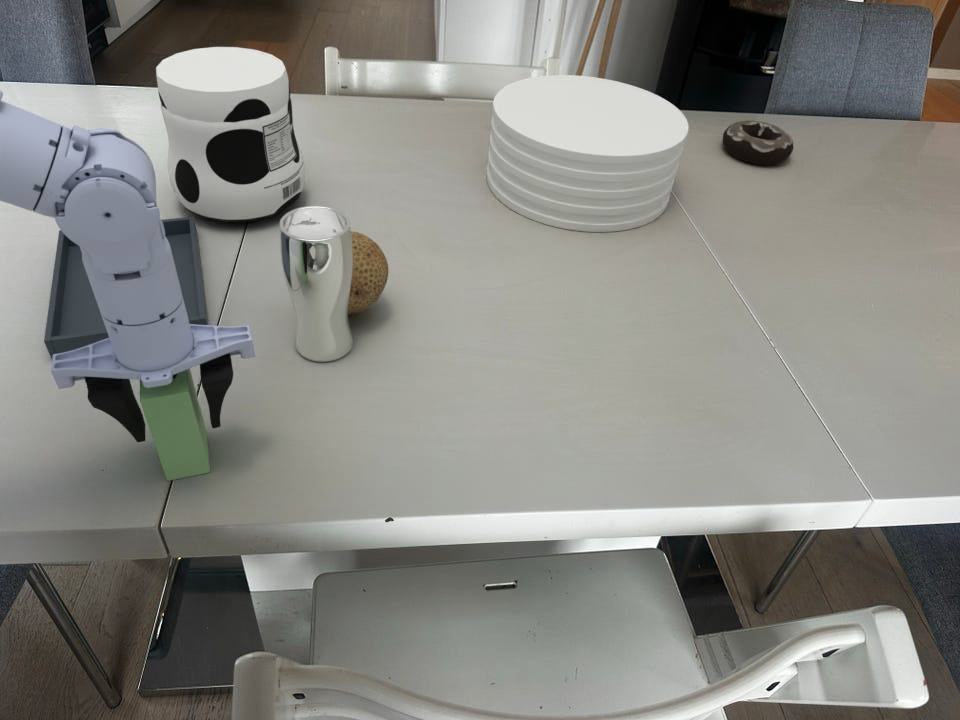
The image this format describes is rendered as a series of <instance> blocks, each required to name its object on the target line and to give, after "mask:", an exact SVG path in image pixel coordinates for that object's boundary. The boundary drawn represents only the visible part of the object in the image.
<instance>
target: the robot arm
mask: <svg viewBox="0 0 960 720" xmlns="http://www.w3.org/2000/svg"><path fill="white" fill-rule="evenodd" d="M3 96H4V92H3V91H2V90H0V202H3V203H6V204H8V205H12V206H15V207H18V208H21V209H24V210H27V211H30V212H33V213H36V214H37V215H38V214H39V215H42V216H43V217H44V216H45V217H48V218H53V219H54V221H55V223H56V225H57V227H58V228H59V230H61V231H62V232H63V233H64V234H65V235H66V236H67V237H68V238H69V239H70V240H71V241H73V242H74V243H76V244H77V245H79V246H80V249H81V252H82V261H83V264H84V267H85V270H86V273H87V276H88V278H89V281H90V284H91V287H92V290H93V293H94V296H95V298H96V301H97V304H98V307H99V310H100V313H101V316H102V319H103V321H104V324H105V327H106V330H107V333H108V336H109V338H107V339H104V340H101V341H99V342H96V343H93V344H90V345H87V346H84V347H82V348H78V349H75V350H72V351H68V352H64V353H58V354H53V358H52V359H51V368H50V372H51V374H52V377H53V379H54V381H55V383H56V385H57V388H58V389H60V390H61V389H68V388H72V387H74V385H75V384H76V381H83V380H84V381H85V384H86V388H87V400H88V402H89V404H90V405H91V406H92V408H94V409H97V410H99V411H101V412H103V413H105V414H107V415H109V416H110V417H112V418H113V419H114V420H115V421H116V422H118V423H119V424H120V425H121V426H123V428H124V429H126V430H127V432H128V433H129V434H130V435H131V436H132V437H133V439H134V441H136V443H143V442H146V422H145V419H144V413H143V411H142V410H141V407H140V405H139V402H138V401H137V398H136V395H135V393H134V390H133V387H132V382H131V380H137V381H138V380H139V381H140V380H142V383H143V386H144V387H146V388H152V387H158V386H164V385H168V384H170V383H171V382H172V380H173V375H174V374H177V373H179V372H182V371H184V370H187V369H189V368H190V369H192V368H195V367H197V366H199V373H200V383H201V387H202V389H203V392H204V395H205V398H206V402H207V405H208V412H209V420H210V425H211V428H212V429H217V428H220V427H221V426H222V424H221V415H222V414H221V413H222V409H223V408H222V407H223V403H224V399H225V397H226V394H227V392H228V390H229V389H230V387H231V385H232V384H233V380H234V368H233V362H232V356H233V357H234V356H238V355H239V356H240V358H241V359H242V360H243V359H245V360H246V359H252V358H255V357H256V353H255V348H254V343H253V335H252V331H251V327H250V325H249V324H246V325H235V326H227V325H225V326H224V325H209V324H208V325H195V324H189V320H188V316H187V312H186V308H185V304H184V300H183V296H182V291H181V287H180V283H179V279H178V275H177V271H176V267H175V263H174V259H173V255H172V251H171V247H170V244H169V242H168V240H167V238H166V237H165V229H164V225H163V222H162V221H161V220H162V219H161V212H160V209H159V207H158V199H157V197H158V196H157V177H156V172H155V171H156V170H155V169H154V165H153V161H152V159H151V157H150V156H149V154H148V153H147V151H145V149H144V148H143V147H142V146H140V144H138V143H137V142H136V141H134V140H132V139H131V138H129V137H127V136H125V135H124V134H123V133H122V132H120V131H119V130H117V129H113V128H105V127H104V128H90V129H86V128H84V127H81V126H79V125H76V124H74V125H73V126H72V129H71V128H69V127H68V126H65V125H61V124H60V123H57V122H55V121H52V120H50V119H47V118H45V117H42V116H40V115H38V114H36V113H32V112H31V111H28V110H25V109H23V108H20V107H18V106H16V105H13V104H11V103H8V102H6V101H4V100H3Z"/></svg>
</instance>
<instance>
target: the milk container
mask: <svg viewBox="0 0 960 720" xmlns="http://www.w3.org/2000/svg"><path fill="white" fill-rule="evenodd" d="M155 73H156V75H155V76H156V83H157V84H156V85H157V91H158V92H157V93H158V97H159V101H160V110H161V113H162V117H163V121H164V125H165V128H166V133H167V139H168V140H167V141H168V150H167V152H168V153H167V173H168V178H169V182H170V185H171V187H172V190H173V191H174V193H175V196H176V198H177V200H178V201H179V203H181V204H182V206H184V208H185V209H187V210H188V211H189V212H191V213H193V214H195V215H197V216H200V217H201V218H205V219H208V220H211V221H218V222H219V221H220V222H224V223H250V222H256V221H258V220H264V219H268V218H269V219H270V218H272V217H274V216H276V215H278V214H281V213H283V212H285V211H286V210H288V209H289V208H290V207H292V206H293V205H294V204H295V203H296V202H297V201H299V198H300V197H301V195H302V193H303V190H304V184H305V177H306V175H305V174H306V167H305V161H304V156H303V153H302V150H301V147H300V145H299V142H298V139H297V137H296V135H295V129H294V119H293V118H294V117H293V104H292V103H293V102H292V99H291V85H290V81H289V75H288V72H287V68H286V66H285V64H284V62H283V61H282V60H281V59H280V58H278V57H276V56H274V55H273V54H271V53H269V52H264V51H261V50H258V49H253V48H245V47H238V46H210V47H202V48H192V49H188V50H184V51H180V52H177V53H173V55H170V56H168V57H166V58H164V59H162V60H161V61H160V62H159V63H158V65H157V66H156V67H155Z"/></svg>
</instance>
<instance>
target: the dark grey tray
mask: <svg viewBox="0 0 960 720" xmlns="http://www.w3.org/2000/svg"><path fill="white" fill-rule="evenodd" d="M161 221H162V222H163V225H164V229H165V237H166V238H167V240H168V242H169V244H170V247H171V251H172V255H173V259H174V263H175V267H176V271H177V275H178V279H179V283H180V287H181V291H182V296H183V300H184V304H185V308H186V312H187V316H188V320H189V324H195V325H209V318H208V317H209V316H208V310H207V301H206V292H205V284H204V276H203V275H204V274H203V268H202V260H201V252H200V251H201V250H200V242H199V235H198V229H197V224H196V220H195V217H194V216H184V217H175V218H165V219H161ZM53 265H54V266H53V272H52V279H51V280H52V281H51V287H50V295H49V301H48V310H47V316H46V324H45V331H44V339H43V342H44V345H45V347H46V350H47V352H48V354H49V356H50V359H51V360H52V358H53V354H58V353H64V352H68V351H72V350H75V349H78V348H82V347H84V346H87V345H90V344H93V343H96V342H99V341H101V340H104V339H107V338H109V336H108V333H107V330H106V327H105V324H104V321H103V319H102V316H101V313H100V310H99V307H98V304H97V301H96V298H95V296H94V293H93V290H92V287H91V284H90V281H89V278H88V276H87V273H86V270H85V267H84V264H83V261H82V252H81V249H80V246H79V245H77V244H76V243H74V242H73V241H71V240H70V239H69V238H68V237H67V236H66V235H65V234H64V233H63V232H62V231H61V230H60V229H59V230H58V236H57V244H56V251H55V257H54V264H53Z"/></svg>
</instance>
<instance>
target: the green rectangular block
mask: <svg viewBox="0 0 960 720" xmlns="http://www.w3.org/2000/svg"><path fill="white" fill-rule="evenodd" d="M139 401H140V405H141V408H142V412H143V415H144V417H145V420H146V422H147V426H148V428H149V432H150V435H151V438H152V440H153V443H154V446H155V450H156V452H157V455H158V457H159V461H160V464H161V466H162V470H163V472H164V476H165V479H166V482H169V481H170V482H171V481H175V480H179V479H185V478H189V477H194V476H199V475H204V474H208V473H211V463H210V453H209V446H208V445H209V444H208V434H207V428H206V424H205V421H204V420H205V419H204V416H203V413H202V409H201V405H200V401H199V398H198V393H197V389H196V385H195V382H194V378H193V374H192V371H191V368H189V369H187V370H184V371H182V372H179V373H177V374H174V375H173V380H172V382H171V383H170V384H168V385H164V386H158V387H152V388H146V387H144V386H143V383H142V380H139Z"/></svg>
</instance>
